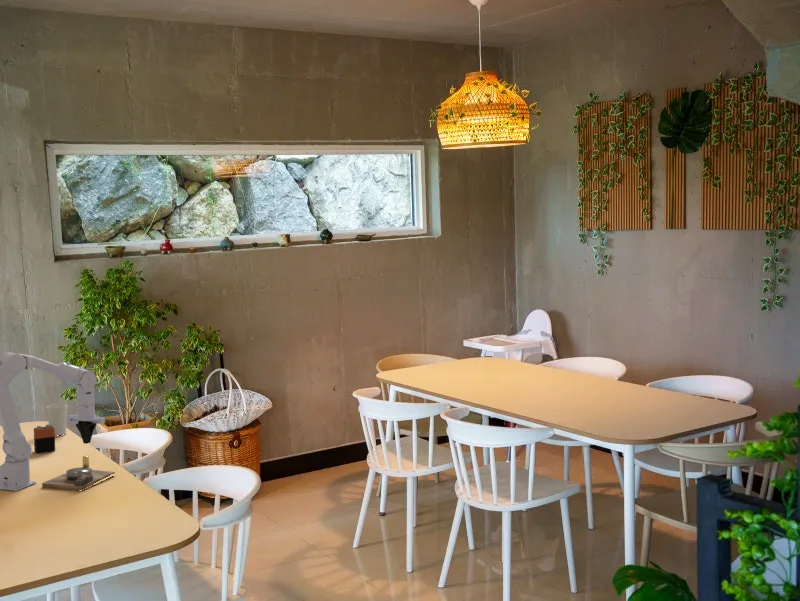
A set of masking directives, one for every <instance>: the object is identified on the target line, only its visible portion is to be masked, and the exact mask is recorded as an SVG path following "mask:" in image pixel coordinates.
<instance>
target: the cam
mask: <svg viewBox="0 0 800 601" xmlns="http://www.w3.org/2000/svg"><path fill="white" fill-rule="evenodd" d="M92 470H93V468H92V467H90V455H84V456H82V466H81V467H73V468H69V469H67V470H66V478H67V479H70V480H77V479H78V477H80V478H81V476H82V475H91V476H92Z"/></svg>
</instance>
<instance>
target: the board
mask: <svg viewBox="0 0 800 601" xmlns="http://www.w3.org/2000/svg"><path fill="white" fill-rule="evenodd" d="M114 473H115V474H116V472H115V471H109V470H108V471H107V470H98V469H97V470H96V469H92V476H91V475H82V476H81V478H80V477H78V479H77V480H70V479H67V478H66V473H64V474H61V475H58V476H56V477H53V478H51V479H49V480H46V481H44V482H41V485H42V487H41V488H42V489H53V490H62V489H64V490H63V491H72V490H83V489H85V488H87V487H89V486H91V485H93V484H94V483H96V482H98V481H100V480H102V479H104V478H106V477H108V476H110V475H111V474H114ZM83 491H84V490H83Z"/></svg>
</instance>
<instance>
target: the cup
mask: <svg viewBox="0 0 800 601" xmlns="http://www.w3.org/2000/svg"><path fill="white" fill-rule="evenodd" d="M46 412H47V419H48V420H47V421H48V424H51V426H52V427H54V429H55V436H57V435H63V434H66V435H67V421H68V415H67V414H68V404H67V403H66V404H65V403H57V404H54V403H53V404H50V405H47V406H46ZM57 437H58V436H57Z"/></svg>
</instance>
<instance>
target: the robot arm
mask: <svg viewBox="0 0 800 601" xmlns="http://www.w3.org/2000/svg"><path fill="white" fill-rule="evenodd" d="M33 368H34V369H38V370H41V371H45V372H49V373H51V374H53V375H54V378H56V379H58V380H62V381H64V382H68V383H71V384H75V385H76V414H69V415H67V422H77V423H76V424H75V427H76V428H77V430H78V431H79V434H80V437H81V439H82V442H83V444H90V443H91V441H92V436H93V433H94V430H95V428H96V426H97V425H103V424H106V418H105V417H102V416H98V415H96V412H95V411H96V410H95V408H96V407H95V385H96V383H97V381H98V378H97V376H96V373H94V372H93V371H92V370H88V369H85V368H84V367H83V366H76V365H73V364H72V363H71V362H69V361H64V362H59V363H57V364H56V363H53V362H50V361H48V360H46V359H41V358H39V357H36V356H33V355H29V354H23V353H18V352H17V353H14V352H12V351H4V352H2V353H1V354H0V423H1V426H2V430H3V435H2V440H3V443H2V451H3V453H4V454H5V458H4V462H3V463H2V464H1V465H0V490H2V491H5V490H6V491H13V492H16V491H19V490H22V489H25V488H27V487H29V486H32V485H35V484H37V481H33V480H31V475H30V474H31V471H30V456H31V453H32V446H31V444H30V443H29V442H28V441H27V438H26V436H25V434H24V432H23V431H22V428H21V425H20V422H19V416H18V414H17V410H16V406H15V402H14V399H13V395H12V392H11V391H12V390H11V387H10V384H11V382H12V381H13V379H15V378H16V377H17V376H18V375H20V374H21V373H22V372H23V371H25V370H28V371H29V370H31V369H33Z"/></svg>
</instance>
